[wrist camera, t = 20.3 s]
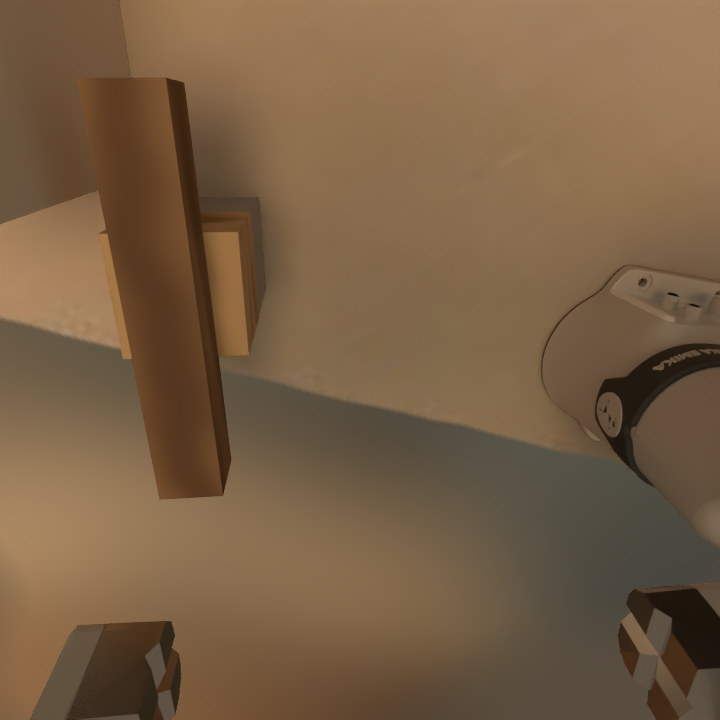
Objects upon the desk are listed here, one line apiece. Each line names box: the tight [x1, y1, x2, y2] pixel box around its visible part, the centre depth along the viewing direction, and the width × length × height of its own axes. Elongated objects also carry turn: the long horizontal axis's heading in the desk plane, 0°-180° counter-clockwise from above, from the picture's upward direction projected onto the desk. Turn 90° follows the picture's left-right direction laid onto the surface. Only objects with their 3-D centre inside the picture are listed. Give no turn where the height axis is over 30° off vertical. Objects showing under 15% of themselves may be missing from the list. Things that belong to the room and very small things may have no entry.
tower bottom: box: [199, 197, 266, 312], centre depth 44 cm, size 8×8×8 cm
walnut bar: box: [77, 78, 231, 499], centre depth 32 cm, size 4×24×4 cm, turn 0°
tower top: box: [99, 212, 259, 359], centre depth 37 cm, size 8×8×8 cm
